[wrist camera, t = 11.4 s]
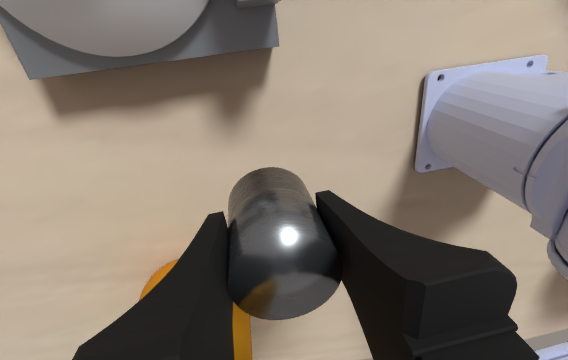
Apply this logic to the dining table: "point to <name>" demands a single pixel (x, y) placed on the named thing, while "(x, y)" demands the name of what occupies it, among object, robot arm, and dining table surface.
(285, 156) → the dining table surface
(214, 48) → the dial scale
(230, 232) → the cylinder
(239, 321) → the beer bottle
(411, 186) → the dining table surface
